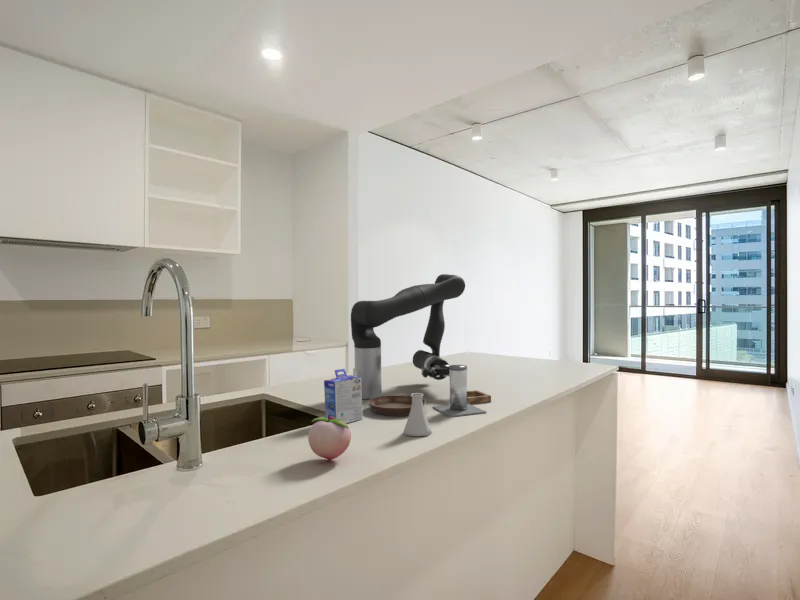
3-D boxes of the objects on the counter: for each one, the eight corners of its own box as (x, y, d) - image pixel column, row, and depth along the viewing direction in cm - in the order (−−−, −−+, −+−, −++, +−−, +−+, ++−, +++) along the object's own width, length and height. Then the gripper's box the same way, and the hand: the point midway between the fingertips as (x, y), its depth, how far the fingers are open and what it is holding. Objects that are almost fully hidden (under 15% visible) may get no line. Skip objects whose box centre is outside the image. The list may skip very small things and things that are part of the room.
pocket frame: (465, 404, 146) (465, 398, 146) (452, 398, 155) (452, 392, 155) (491, 401, 150) (490, 395, 150) (476, 396, 158) (476, 390, 158)
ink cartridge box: (350, 416, 135) (350, 366, 135) (363, 419, 131) (362, 368, 131) (323, 423, 128) (322, 371, 127) (336, 427, 124) (335, 373, 124)
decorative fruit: (300, 466, 96) (299, 418, 96) (317, 452, 104) (316, 408, 104) (342, 470, 94) (341, 421, 93) (356, 456, 101) (355, 411, 101)
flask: (432, 429, 121) (431, 391, 121) (431, 437, 114) (430, 397, 114) (404, 428, 122) (404, 391, 121) (402, 437, 114) (401, 397, 114)
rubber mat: (449, 417, 132) (449, 415, 132) (432, 407, 143) (432, 406, 143) (486, 413, 136) (486, 411, 136) (466, 403, 147) (466, 402, 147)
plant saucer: (404, 401, 154) (404, 392, 153) (437, 411, 139) (437, 401, 139) (357, 409, 144) (357, 399, 144) (388, 421, 129) (388, 410, 129)
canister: (454, 411, 136) (454, 367, 136) (446, 407, 141) (446, 365, 141) (470, 410, 138) (470, 366, 138) (462, 406, 143) (461, 364, 143)
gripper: (416, 357, 164) (427, 364, 148) (455, 356, 166) (469, 362, 150) (417, 378, 164) (427, 387, 148) (455, 376, 167) (469, 385, 151)
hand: (448, 375), depth 149 cm, fingers open, 8 cm apart
